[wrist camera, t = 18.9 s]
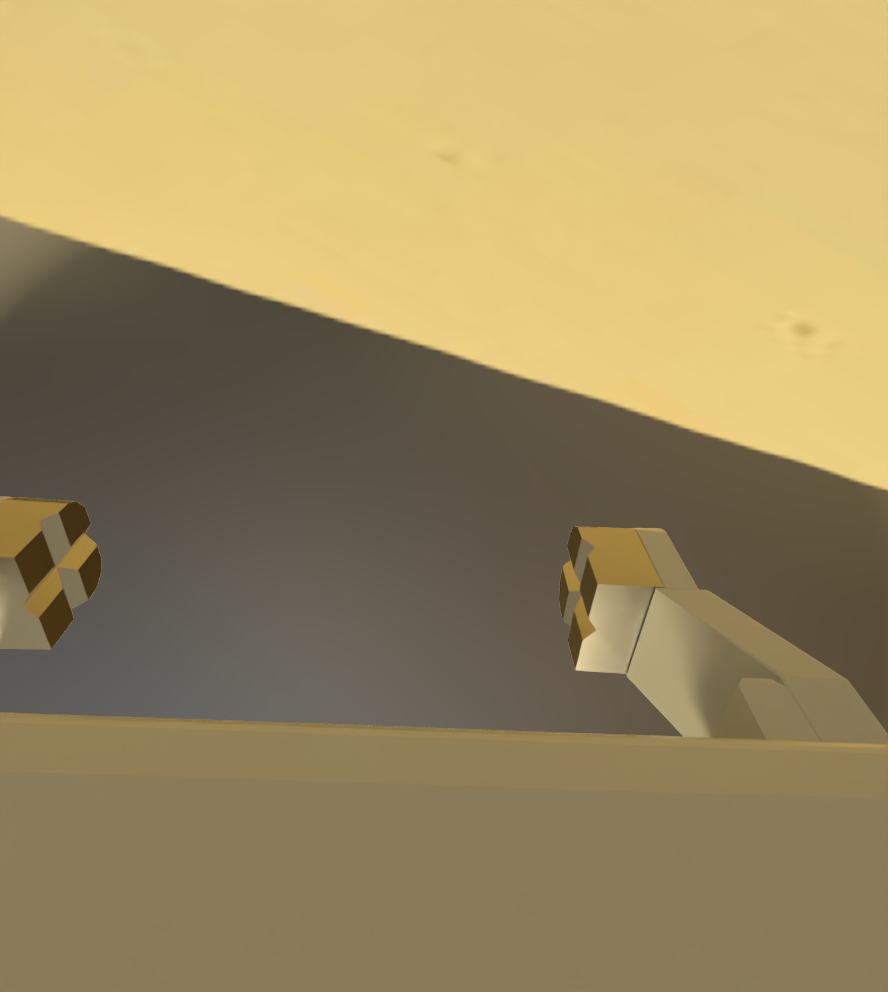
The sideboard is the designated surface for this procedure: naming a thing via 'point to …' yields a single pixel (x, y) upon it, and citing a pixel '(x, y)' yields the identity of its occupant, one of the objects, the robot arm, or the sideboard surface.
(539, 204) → the sideboard surface
